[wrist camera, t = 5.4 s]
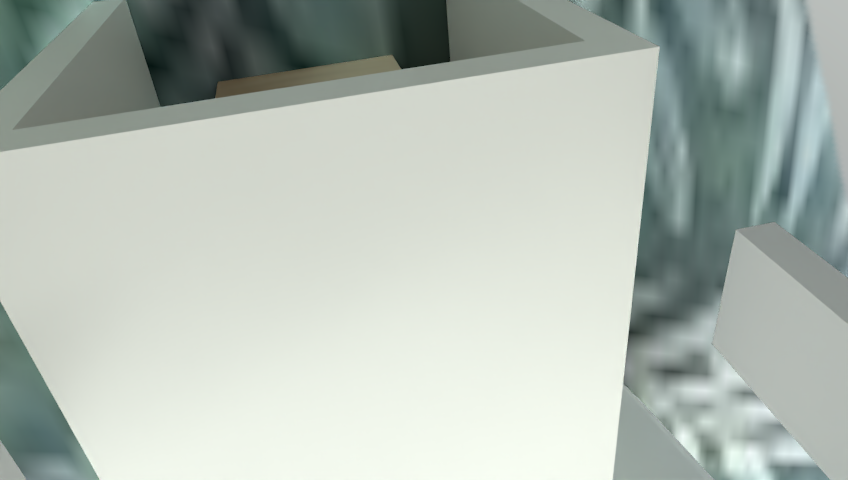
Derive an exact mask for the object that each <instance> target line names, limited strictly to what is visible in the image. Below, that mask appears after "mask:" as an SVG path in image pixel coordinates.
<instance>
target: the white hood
mask: <svg viewBox="0 0 848 480" xmlns="http://www.w3.org/2000/svg"><path fill="white" fill-rule="evenodd" d="M446 5H447V20H448V35H449V50H450V62H446V63H440V64H433V65H427V66H420V67H414V68H408V69H401V70H395V71H388V72H382V73H376V74H369V75H363V76H356V77H350V78H343V79H337V80H331V81H324V82H318V83H311V84H305V85H298V86H292V87H286V88H279V89H273V90H266V91H260V92H254V93H247V94H241V95H234V96H228V97H221V98H215V99H209V100H202V101H196V102H189V103H183V104H176V105H170V106H164V107H160V103H159V100H158V97H157V94H156V91H155V88H154V85H153V82H152V79H151V76H150V72H149V69H148V66H147V63H146V60H145V57H144V54H143V51H142V48H141V45H140V41H139V38H138V35H137V32H136V29H135V26H134V23H133V20H132V17H131V13H130V10H129V7H128V4H127V1H126V0H103V1H95V2H92V3H91V4H90V5H89V6H88V7H87V8H86V9H85V10H84V11H83V12H82V13H81V14H80V15H79V16H77V17H76V18H75V19H74V20H73V21H72V22H71V23H70V24H69V25H68V26H67V27H66V28H65V29H64V30H63V31H62V32H61V33H60V34H59V35H58V36H57V37H56V38H55V39H54V40H53V41H51V42H50V43H49V44H48V45H47V46H46V47H45V48H44V49H43V50H42V51H41V52H40V53H39V54H38V55H37V56H36V57H35V58H34V59H33V60H32V61H31V62H30V63H29V64H28V65H27V66H26V67H24V68H23V69H22V70H21V71H20V72H19V73H18V74H17V75H16V76H15V77H14V78H13V79H12V80H11V81H10V82H9V83H8V84H7V85H6V86H5V87H4V88H3V89H2V90H1V91H0V302H1V303H2V305H3V307H4V309H5V311H6V312H7V314H8V316H9V318H10V319H11V321H12V323H13V325H14V327H15V328H16V330H17V332H18V334H19V336H20V337H21V339H22V341H23V343H24V345H25V346H26V348H27V350H28V352H29V354H30V355H31V357H32V359H33V361H34V363H35V364H36V366H37V368H38V370H39V372H40V373H41V375H42V377H43V379H44V380H45V382H46V384H47V386H48V388H49V389H50V391H51V393H52V395H53V397H54V398H55V400H56V402H57V404H58V406H59V407H60V409H61V411H62V413H63V415H64V416H65V418H66V420H67V422H68V424H69V425H70V427H71V429H72V431H73V433H74V434H75V436H76V438H77V440H78V441H79V443H80V445H81V447H82V449H83V450H84V452H85V454H86V456H87V458H88V459H89V461H90V463H91V465H92V467H93V468H94V470H95V472H96V474H97V476H98V477H99V479H100V480H613V472H614V462H615V453H616V444H617V435H618V426H619V416H620V407H621V398H622V389H623V379H624V370H625V361H626V352H627V343H628V333H629V324H630V315H631V306H632V297H633V287H634V278H635V269H636V260H637V250H638V241H639V232H640V223H641V214H642V204H643V195H644V186H645V177H646V167H647V158H648V149H649V140H650V131H651V121H652V112H653V103H654V94H655V85H656V75H657V66H658V57H659V48H660V47H659V46H657V45H655V44H653V43H651V42H649V41H647V40H645V39H643V38H641V37H639V36H637V35H635V34H633V33H631V32H629V31H627V30H625V29H624V28H622V27H620V26H618V25H616V24H614V23H612V22H610V21H608V20H606V19H604V18H602V17H600V16H598V15H596V14H594V13H592V12H590V11H588V10H586V9H584V8H582V7H580V6H578V5H576V4H574V3H572V2H570V1H568V0H446Z"/></svg>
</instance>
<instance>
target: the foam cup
mask: <svg viewBox="0 0 848 480" xmlns="http://www.w3.org/2000/svg"><path fill="white" fill-rule="evenodd" d="M613 480H714V479H713V478H712V477H711V476H710V475H709V474H708V472H707V471H706V470H705V469H704V468H703V467H702V466H701V465H700V464H699V463H698V462H697V461H696V460H695V458H694V457H693V456H692V455H691V454H690V453H689V452H688V451H687V450H686V449H685V448H684V447H683V446H682V444H681V443H680V442H679V441H678V440H677V439H676V438H675V437H674V436H673V435H672V434H671V433H670V432H669V431H668V429H667V428H666V427H665V426H664V425H663V424H662V423H661V422H660V421H659V420H658V419H657V418H656V417H655V415H654V414H653V413H652V412H651V411H650V410H649V409H648V408H647V407H646V406H645V405H644V404H643V403H642V401H641V400H640V399H639V398H638V397H637V396H635V395H634V394H632V393H631V391H630V390H629V388H628V387H627V386H625V385H624V384H623V389H622V398H621V407H620V416H619V426H618V435H617V444H616V453H615V462H614V472H613Z"/></svg>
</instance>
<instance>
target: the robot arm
mask: <svg viewBox="0 0 848 480" xmlns="http://www.w3.org/2000/svg"><path fill="white" fill-rule="evenodd" d="M712 345H713V346H714V347H715V348H716V349H717V350H718V351H719V353H720V354H721V355H722V356H723V357H724V358H725V359H726V361H727V362H728V363H729V364H730V365H731V366H732V367H733V369H734V370H735V371H736V372H737V373H738V374H739V376H740V377H741V378H742V379H743V380H744V381H745V382H746V384H747V385H748V386H749V387H750V388H751V389H752V390H753V392H754V393H755V394H756V395H757V396H758V397H759V398H760V400H761V401H762V402H763V403H764V404H765V405H766V407H767V408H768V409H769V410H770V411H771V412H772V413H773V415H774V416H775V417H776V418H777V419H778V420H779V421H780V423H781V424H782V425H783V426H784V427H785V428H786V429H787V431H788V432H789V433H790V434H791V435H792V436H793V438H794V439H795V440H796V441H797V442H798V443H799V444H800V446H801V447H802V448H803V449H804V450H805V451H806V452H807V454H808V455H809V456H810V457H811V458H812V459H813V460H814V462H815V463H816V464H817V465H818V466H819V467H820V469H821V470H822V471H823V472H824V473H825V474H826V475H827V477H828V478H829V479H830V480H848V278H847V277H846V276H844V275H843V274H842V273H841V272H839V271H838V270H837V269H835V268H834V267H833V266H831V265H830V264H829V263H827V262H826V261H825V260H824V259H822V258H821V257H820V256H818V255H817V254H816V253H814V252H813V251H812V250H811V249H809V248H808V247H807V246H805V245H804V244H803V243H801V242H800V241H799V240H797V239H796V238H795V237H794V236H792V235H791V234H790V233H788V232H787V231H786V230H784V229H783V228H782V227H780V226H779V225H778V224H777V223H775V222H772V223H767V224H762V225H757V226H752V227H746V228H741V229H736V232H735V237H734V241H733V246H732V251H731V255H730V260H729V265H728V270H727V274H726V279H725V284H724V289H723V293H722V298H721V303H720V308H719V312H718V317H717V322H716V327H715V331H714V336H713V341H712ZM0 480H26V478H25V477H24V475H23V474H22V472H21V471H20V469H19V468H18V466H17V465H16V463H15V462H14V460H13V459H12V457H11V456H10V454H9V453H8V451H7V450H6V448H5V447H4V445H3V444H2V442H1V441H0Z"/></svg>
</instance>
